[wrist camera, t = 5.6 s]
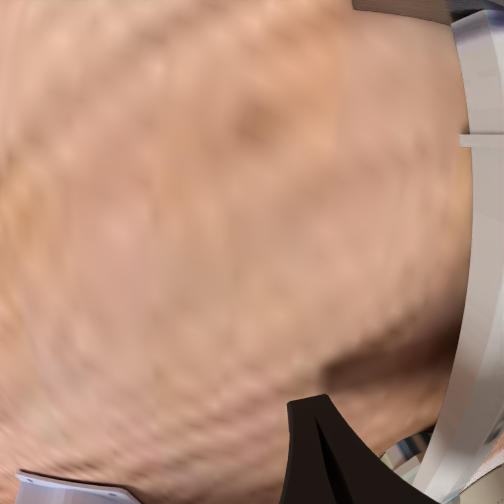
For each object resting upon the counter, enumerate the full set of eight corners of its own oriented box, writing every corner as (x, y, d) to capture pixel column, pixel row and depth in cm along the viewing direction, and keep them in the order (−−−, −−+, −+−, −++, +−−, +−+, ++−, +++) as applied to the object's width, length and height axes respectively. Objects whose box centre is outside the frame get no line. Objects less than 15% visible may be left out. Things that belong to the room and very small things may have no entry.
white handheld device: (592, 47, 3) (460, 532, 11) (474, 67, 10) (424, 469, 17) (498, -16, 3) (387, 566, 10) (374, 50, 9) (359, 492, 17)
